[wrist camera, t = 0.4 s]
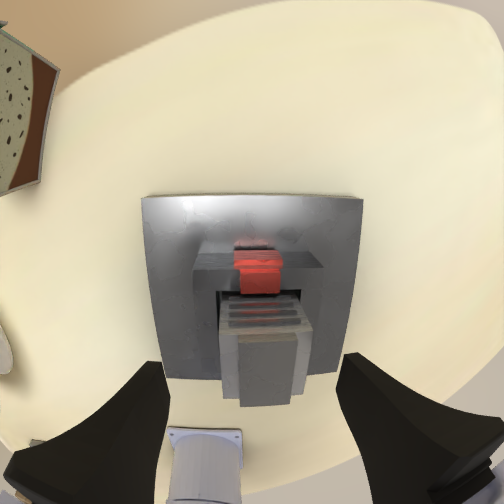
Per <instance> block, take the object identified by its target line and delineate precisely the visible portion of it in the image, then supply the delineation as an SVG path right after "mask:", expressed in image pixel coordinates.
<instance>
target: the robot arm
mask: <svg viewBox="0 0 504 504" xmlns="http://www.w3.org/2000/svg"><path fill="white" fill-rule="evenodd" d="M336 393H337V397H338V400H339V404H340V407H341V410H342V412H343V415H344V417H345V419H346V421H347V424H348V426H349V428H350V430H351V432H352V435H353V437H354V439H355V441H356V444H357V446H358V448H359V451H360V453H361V456H362V459H363V462H364V466H365V470H366V473H367V477H368V481H369V486H370V490H371V495H372V501H373V504H504V460H503V461H501V462H500V463H499V464H498V465H497V466H495V468H493V469H492V470H491V469H490V468H489V466H490V465H491V464H492V461H491V460H490V458H489V457H490V456H491V455H492V454H493V453H494V452H495V450H497V448H498V447H499V446H500V445H501V444H502V443H503V442H504V422H503V421H502V420H501V418H500V417H491V416H483V415H476V414H472V413H468V412H463V411H460V410H456V409H453V408H450V407H448V406H445V405H442V404H440V403H437V402H435V401H433V400H431V399H428V398H426V397H424V396H422V395H420V394H418V393H417V392H415V391H413V390H411V389H410V388H408V387H406V386H405V385H403V384H402V383H400V382H399V381H397V380H396V379H394V378H393V377H391V376H390V375H388V374H387V373H386V372H384V371H383V370H381V369H380V368H379V367H377V366H376V365H375V364H373V363H372V362H371V361H369V360H368V359H366V358H365V357H364V356H362V355H361V354H359V353H358V352H356V353H350V354H344V357H343V362H342V366H341V370H340V374H339V378H338V382H337V386H336ZM170 398H171V397H170V393H169V390H168V386H167V382H166V378H165V374H164V370H163V366H162V362H154V361H147V362H146V363H145V364H144V365H143V366H142V367H141V368H140V369H139V370H138V371H137V372H136V373H135V374H134V375H133V376H132V378H131V379H130V380H129V381H128V382H127V383H126V384H125V385H124V386H123V387H122V388H121V389H120V390H119V391H118V392H117V393H116V394H115V395H114V396H113V397H112V398H111V399H110V400H109V401H107V402H106V403H105V404H104V405H103V406H102V407H101V408H100V409H98V410H97V411H96V412H95V413H94V414H92V415H91V416H90V417H88V418H87V419H85V420H84V421H83V422H81V423H80V424H78V425H76V426H75V427H73V428H71V429H70V430H68V431H66V432H64V433H63V434H61V435H59V436H57V437H55V438H53V439H51V440H48V441H46V442H44V443H41V444H38V445H36V446H32V447H29V448H26V449H23V450H19V451H15V452H14V454H13V456H12V458H11V460H10V462H9V464H8V466H7V468H6V470H5V472H4V474H3V476H4V478H5V480H6V481H7V482H8V483H9V484H10V485H11V486H12V487H13V488H15V489H16V490H17V491H18V492H20V493H21V494H22V495H23V496H25V497H26V498H27V499H28V500H30V501H31V502H32V504H154V490H155V477H156V468H157V462H158V458H159V454H160V449H161V445H162V441H163V437H164V433H165V429H166V425H167V421H168V415H169V407H170ZM167 434H168V437H169V439H170V442H171V444H172V447H173V449H174V458H173V465H172V472H171V480H170V488H169V496H168V500H166V504H242V501H241V484H240V469H242V468H243V456H242V432H241V431H240V430H207V429H186V428H173V427H169V428H167ZM0 504H25V503H24V502H22V501H20V500H19V499H17V498H16V497H14V496H13V495H11V494H10V493H8V492H6V491H5V490H2V492H1V494H0Z"/></svg>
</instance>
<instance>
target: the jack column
mask: <svg viewBox="0 0 504 504" xmlns="http://www.w3.org/2000/svg"><path fill="white" fill-rule="evenodd" d="M312 337H313V329H312V327H311V325H310V323H309V321H308V319H307V317H306V315H305V312H304V310H303V308H302V306H301V304H300V302H299V300H298V298H297V296H296V294H295V292H294V290H293V289H290V290H280V293H260V294H241V293H240V291H222V296H221V308H220V322H219V349H220V363H221V377H222V389H223V399H239V398H240V407H256V406H273V405H285V404H290V398H291V395H301V394H303V392H304V386H305V381H306V375H307V369H308V363H309V357H310V351H311V344H312Z"/></svg>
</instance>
